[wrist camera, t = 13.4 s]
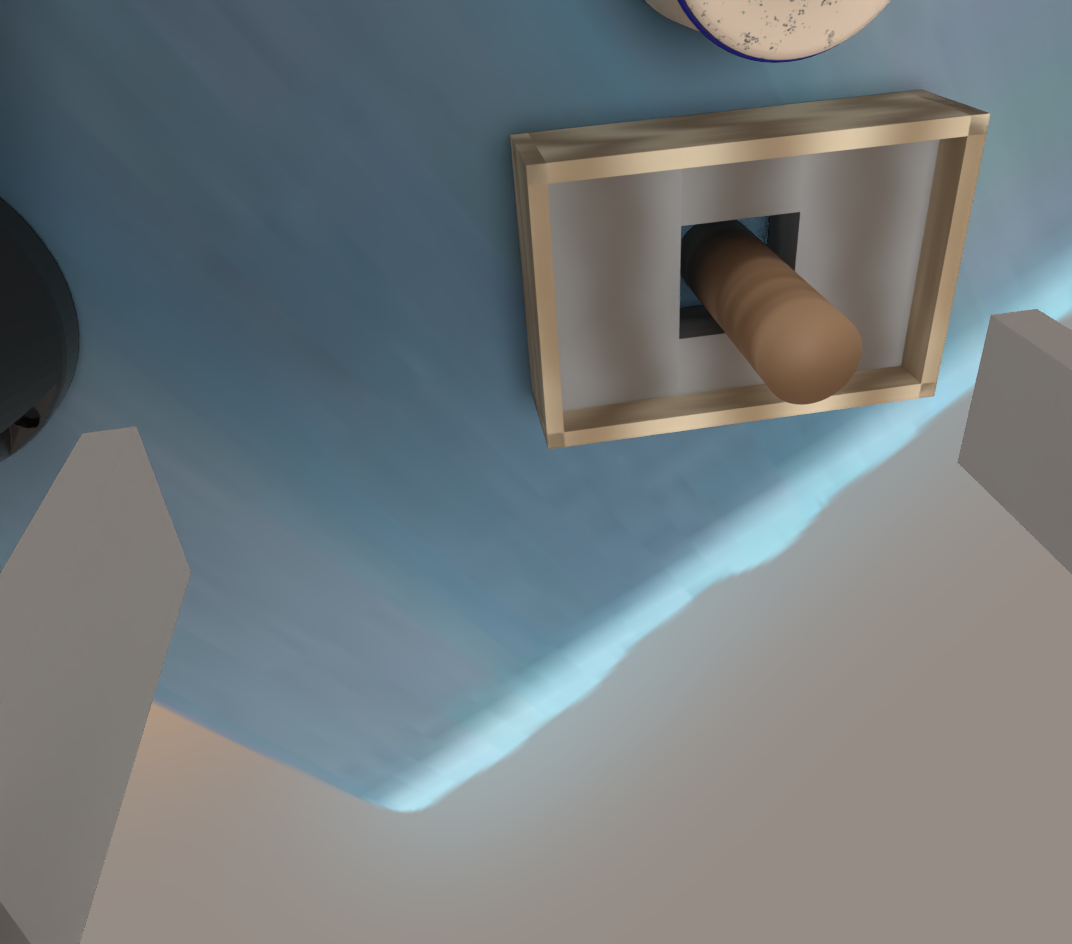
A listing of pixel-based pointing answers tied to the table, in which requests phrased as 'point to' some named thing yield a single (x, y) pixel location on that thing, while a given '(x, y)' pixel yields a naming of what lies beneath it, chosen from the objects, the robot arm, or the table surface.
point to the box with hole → (794, 235)
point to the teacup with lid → (773, 24)
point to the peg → (770, 313)
